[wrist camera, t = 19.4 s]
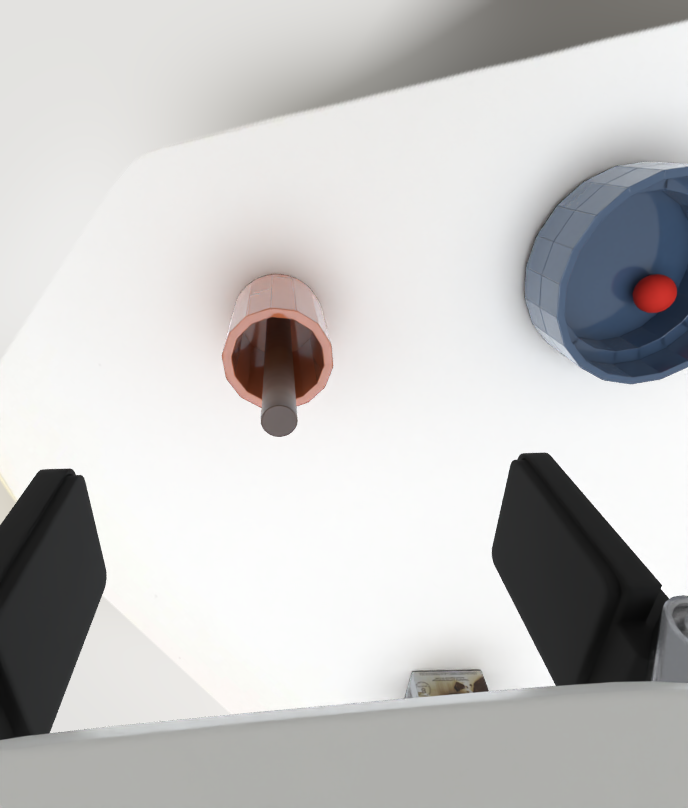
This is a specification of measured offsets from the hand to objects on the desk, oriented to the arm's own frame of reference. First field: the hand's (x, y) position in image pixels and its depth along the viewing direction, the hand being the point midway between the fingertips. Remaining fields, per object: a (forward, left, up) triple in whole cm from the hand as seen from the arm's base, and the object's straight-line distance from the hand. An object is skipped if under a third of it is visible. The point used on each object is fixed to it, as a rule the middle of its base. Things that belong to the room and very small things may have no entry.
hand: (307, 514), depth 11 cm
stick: (+3, -4, -29) cm, 30 cm away
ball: (+22, +19, -28) cm, 40 cm away
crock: (+3, -4, -30) cm, 30 cm away
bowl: (+19, +18, -30) cm, 40 cm away
